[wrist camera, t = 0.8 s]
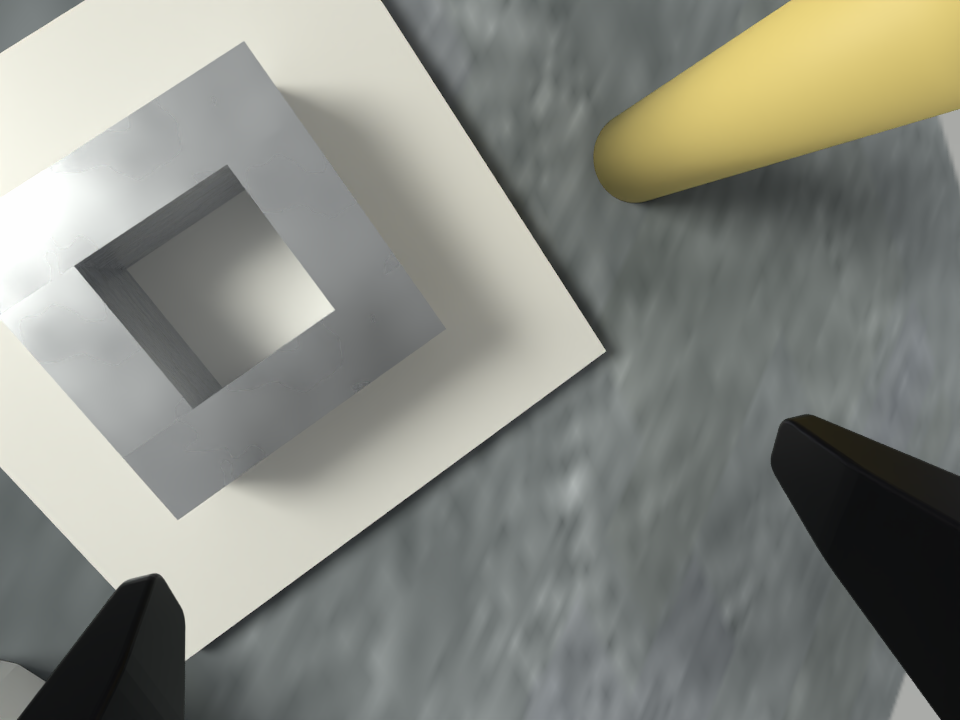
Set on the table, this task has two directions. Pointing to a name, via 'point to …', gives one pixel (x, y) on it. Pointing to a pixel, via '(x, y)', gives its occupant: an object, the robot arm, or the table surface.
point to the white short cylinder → (16, 689)
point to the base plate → (281, 294)
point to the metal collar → (140, 324)
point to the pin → (786, 93)
